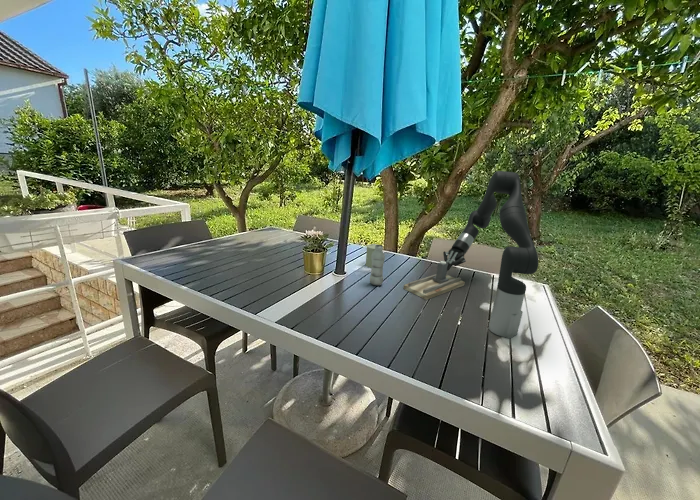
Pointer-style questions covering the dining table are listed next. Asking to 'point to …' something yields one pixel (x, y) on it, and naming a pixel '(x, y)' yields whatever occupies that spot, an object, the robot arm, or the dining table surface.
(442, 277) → the fader tab
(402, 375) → the dining table surface
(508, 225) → the robot arm
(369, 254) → the can
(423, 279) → the wooden tray
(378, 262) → the plastic bottle
